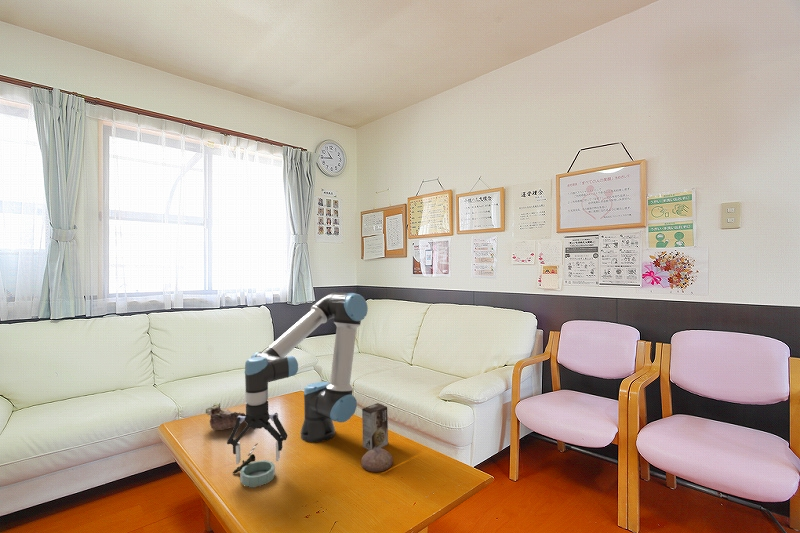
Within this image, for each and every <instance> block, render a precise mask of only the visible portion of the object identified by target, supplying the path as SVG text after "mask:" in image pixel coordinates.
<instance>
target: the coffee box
mask: <svg viewBox="0 0 800 533" xmlns="http://www.w3.org/2000/svg"><path fill="white" fill-rule="evenodd" d="M361 411H362V412H361V414H362V415H361V416H362V422H361V423H362V447H363V448H364V449H366V450H367V451H369V450H371V449H374V448H383V447H386V446H387V445H388V444H389V429H388V428H389V424H388V420H389V419H388V406H385V405H384V404H381V403H379V402H378V403H374V404H372V405H369V406H366V407H363V408H362V410H361Z"/></svg>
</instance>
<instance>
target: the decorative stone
mask: <svg viewBox="0 0 800 533" xmlns="http://www.w3.org/2000/svg"><path fill="white" fill-rule="evenodd" d="M393 460H394V459H393V456H392V454H391V453H390V452H389V451H388V450H387V449H384V448H383V447H381V448H374V449H371V450H367V451H366V452H365V454H363V455H362V457H361V460H360V462H361V467H362V468H363V469H364V470H366V471H368V472H373V473H375V472H384V471H386V470H388V469H389V468H391V467H392V466H393V462H394V461H393Z"/></svg>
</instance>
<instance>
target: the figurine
mask: <svg viewBox="0 0 800 533" xmlns="http://www.w3.org/2000/svg"><path fill="white" fill-rule="evenodd" d="M257 445H258V443H256V444H255V445H254V446H253V447H252V449H251V450H250V452H249V453H248V454H247V457H248V456H249V457H248V458H247V459H246V460H244V459H243V460H242V464H240V465H239V466H238V467H236V469H234V470H233V471H232V474H233V473H234V474H237V473H238V472H240V471H241V470H242V468H243V467H244V466H246V465H247V464H249V463H252V462H255V461H256V455H255V453H254V454H253V452H254V450H255V449H256V447H257Z"/></svg>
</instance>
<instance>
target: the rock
mask: <svg viewBox="0 0 800 533" xmlns="http://www.w3.org/2000/svg"><path fill="white" fill-rule="evenodd" d="M205 414H207V416H210V419H209V425H210V427H211V429H212V430H213V431H218V430H219V431H222V430H226V429H227V430H228V429H231V428H234V427H235V425H236V419H237V417H238V416H239V415H241V416H246V413H244V412H236V411H234V412H233V411H231V410H229V409H227V408H221V402H220V403H213V406H211V407H207V408H206V409H205ZM243 422H245V420H244V421H243Z"/></svg>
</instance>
